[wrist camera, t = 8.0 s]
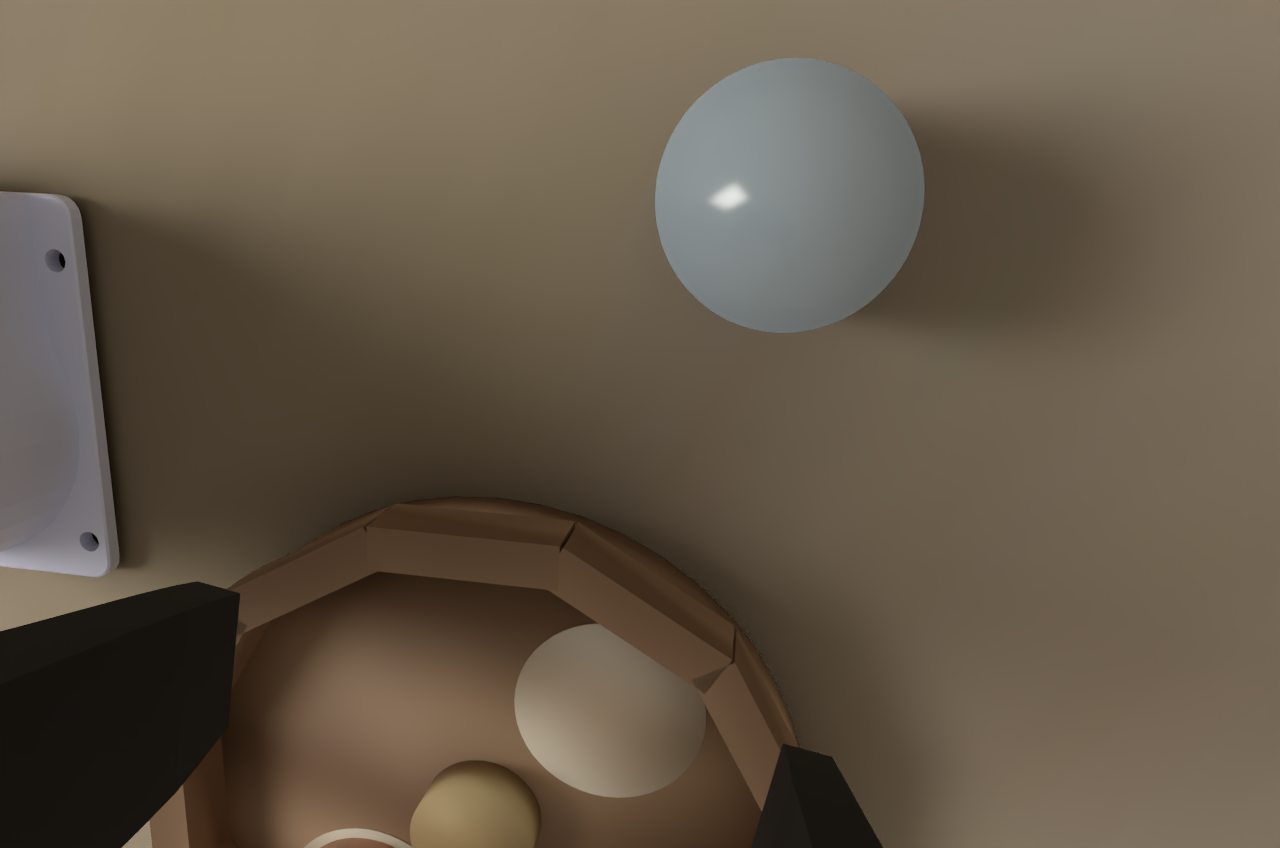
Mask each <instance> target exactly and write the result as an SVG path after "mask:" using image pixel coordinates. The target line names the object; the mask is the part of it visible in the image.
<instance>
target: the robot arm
mask: <svg viewBox="0 0 1280 848" xmlns="http://www.w3.org/2000/svg"><path fill="white" fill-rule="evenodd" d="M60 252H61V253H62V254H63V256H64V258H65V261H66V262H65V268H63V267H62V266H61V264H60V261H59V254H60ZM92 533H93V534H94V535H95V536H96V537H97V539H98V542H99V544H97V543H96V542H95V541H94V539H93V536H92ZM119 558H120V555H119V547H118V538H117V529H116V520H115V511H114V502H113V493H112V484H111V475H110V466H109V458H108V449H107V440H106V431H105V422H104V413H103V404H102V395H101V386H100V377H99V369H98V360H97V351H96V342H95V333H94V324H93V315H92V306H91V297H90V288H89V280H88V271H87V262H86V253H85V244H84V235H83V226H82V218H81V214H80V211H79V208H78V207H77V205H76V204H75V202H74V201H72V200H71V199H70V198H68V197H67V196H63V195H60V194H42V193H23V192H4V191H0V566H2V567H10V568H19V569H28V570H36V571H45V572H54V573H62V574H71V575H79V576H88V577H102V576H104V575H106V574H108V573H110V572H111V571H113V570H115V569H116V568H117V566H118V564H119ZM239 603H240V593H237V592H234V591H230V590H227V589H223V588H219V587H216V586H212V585H208V584H205V583H201V582H192V583H186V584H181V585H176V586H171V587H167V588H163V589H158V590H154V591H150V592H146V593H142V594H138V595H135V596H131V597H127V598H123V599H120V600H116V601H112V602H108V603H105V604H101V605H97V606H94V607H90V608H86V609H83V610H79V611H75V612H72V613H68V614H64V615H60V616H57V617H53V618H49V619H46V620H42V621H38V622H34V623H31V624H27V625H23V626H20V627H16V628H12V629H8V630H4V631H0V848H122V847H123V846H124V845H125V844H126V843H127V842H128V841H129V840H130V839H131V838H132V837H133V836H134V835H135V834H136V833H137V832H138V831H139V830H140V829H141V828H142V827H143V826H144V825H145V824H146V823H147V822H148V821H149V820H150V819H151V818H152V817H153V816H154V815H155V814H156V813H157V812H158V811H159V810H160V809H161V808H162V807H163V806H164V805H165V804H166V803H167V802H168V800H169V799H170V798H171V797H172V796H173V795H174V794H175V793H176V792H177V791H178V790H179V788H180V787H181V786H182V785H183V783H184V782H185V781H186V780H187V779H188V777H189V776H190V775H191V774H192V773H193V771H194V770H195V769H196V768H197V766H198V765H199V764H200V763H201V761H202V760H203V759H204V758H205V756H206V755H207V754H208V752H209V751H210V750H211V748H212V747H213V746H214V744H215V743H216V742H217V741H218V739H219V738H220V737H221V735H222V734H223V733H224V731H225V730H226V729H227V728H228V722H229V711H230V700H231V690H232V679H233V668H234V657H235V646H236V635H237V625H238V614H239ZM751 848H883V847H882V845H881V843H880V842H879V840H878V838H877V836H876V835H875V833H874V831H873V829H872V827H871V826H870V824H869V822H868V820H867V819H866V817H865V815H864V813H863V812H862V810H861V808H860V806H859V804H858V803H857V801H856V799H855V797H854V795H853V793H852V792H851V790H850V788H849V786H848V785H847V783H846V781H845V779H844V777H843V776H842V774H841V772H840V770H839V769H838V767H837V765H836V763H835V762H834V760H833V758H832V757H830V756H826V755H823V754H819V753H816V752H812V751H808V750H805V749H801V748H797V747H794V746H790V745H787V744H782V748H781V751H780V754H779V757H778V761H777V764H776V767H775V771H774V774H773V777H772V781H771V784H770V787H769V790H768V794H767V797H766V800H765V804H764V807H763V810H762V814H761V817H760V820H759V823H758V827H757V830H756V833H755V837H754V840H753V843H752V847H751Z"/></svg>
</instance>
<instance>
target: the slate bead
mask: <svg viewBox="0 0 1280 848" xmlns="http://www.w3.org/2000/svg"><path fill="white" fill-rule="evenodd" d="M924 192H925V185H924V170H923V165H922V161H921V156H920V151H919V149H918V146H917V143H916V140H915V137H914V135H913V133H912V131H911V129H910V127H909V125H908V123H907V121H906V119H905V118H904V116H903V115H902V113H901V112H900V111H899V109H898V108H897V106H896V105H895V104H894V103H893V101H892V100H891V99H890V98H889V97H888V96H887V95H886V94H885V93H884V92H883V91H882V90H881V89H879V88H878V87H877V86H876V85H874V84H873V83H872V82H871V81H869V80H868V79H866V78H865V77H863V76H861V75H859V74H858V73H856V72H854V71H852V70H850V69H848V68H845V67H843V66H840V65H838V64H835V63H831V62H827V61H822V60H818V59H809V58H781V59H775V60H770V61H764V62H761V63H758V64H755V65H751V66H748V67H745V68H743V69H741V70H739V71H737V72H735V73H733V74H731V75H729V76H727V77H726V78H724V79H723V80H721V81H720V82H718V83H717V84H715V85H713V86H712V87H711V88H710V89H709V90H708V91H706V92H705V93H704V94H703V95H702V96H701V97H699V98H698V100H697V101H696V102H695V103H694V104H693V105H692V106H691V107H690V108H689V109H688V111H687V112H686V113H685V115H684V116H683V117H682V119H681V120H680V122H679V123H678V125H677V126H676V128H675V130H674V132H673V133H672V135H671V137H670V139H669V141H668V143H667V146H666V148H665V151H664V154H663V156H662V159H661V163H660V167H659V171H658V175H657V182H656V190H655V214H656V221H657V229H658V233H659V236H660V240H661V244H662V247H663V249H664V252H665V254H666V257H667V259H668V261H669V263H670V265H671V267H672V268H673V270H674V272H675V274H676V275H677V277H678V278H679V280H680V281H681V282H682V284H683V285H684V286H685V287H686V289H687V290H688V291H689V292H690V293H691V294H692V295H693V296H694V297H695V298H696V299H697V300H698V301H699V302H700V303H702V304H703V305H704V306H705V307H707V308H708V309H709V310H711V311H712V312H714V313H715V314H717V315H719V316H721V317H722V318H724V319H726V320H728V321H730V322H733V323H735V324H738V325H740V326H743V327H746V328H750V329H754V330H757V331H764V332H772V333H795V332H803V331H810V330H813V329H817V328H821V327H825V326H828V325H830V324H833V323H835V322H838V321H840V320H842V319H844V318H846V317H848V316H850V315H852V314H853V313H855V312H857V311H858V310H860V309H861V308H863V307H864V306H865V305H867V304H868V303H869V302H871V301H872V300H873V299H874V298H875V297H876V296H877V295H878V294H880V293H881V292H882V291H883V290H884V289H885V288H886V287H887V285H888V284H889V283H890V282H891V281H892V279H893V278H894V277H895V276H896V275H897V273H898V271H899V270H900V268H901V267H902V265H903V264H904V262H905V260H906V259H907V257H908V255H909V253H910V250H911V248H912V246H913V244H914V242H915V239H916V236H917V233H918V230H919V227H920V223H921V218H922V213H923V207H924Z"/></svg>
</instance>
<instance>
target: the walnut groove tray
mask: <svg viewBox="0 0 1280 848" xmlns="http://www.w3.org/2000/svg"><path fill="white" fill-rule="evenodd" d="M227 590H230V591H234V592H237V593H240V603H239V614H238V625H237V635H236V646H235V657H234V668H233V679H232V690H231V700H230V711H229V722H228V728H227V729H226V730H225V731H224V733H223V734H222V735H221V737H220V738H219V739H218V741H217V742H216V743H215V744H214V746H213V747H212V748H211V750H210V751H209V752H208V754H207V755H206V756H205V758H204V759H203V760H202V761H201V763H200V764H199V765H198V766H197V768H196V769H195V770H194V771H193V773H192V774H191V775H190V776H189V777H188V779H187V780H186V781H185V782H184V783H183V785H182V786H181V787H180V788H179V790H178V791H177V792H176V793H175V794H174V795H173V796H172V797H171V798H170V799H169V800H168V802H167V803H166V804H165V805H164V806H163V807H162V808H161V809H160V810H159V811H158V812H157V813H156V814H155V815H154V816H153V817H152V818H151V819H150V828H151V837H152V846H153V848H320V847H322V846H324V845H326V844H328V843H330V842H333V841H336V840H340V839H345V838H366V839H371V840H376V841H379V842H383V843H385V844H388V845H390V846H393V847H395V848H751V847H752V843H753V840H754V837H755V833H756V830H757V827H758V823H759V820H760V817H761V814H762V810H763V807H764V804H765V800H766V797H767V794H768V790H769V787H770V784H771V781H772V777H773V774H774V771H775V767H776V764H777V761H778V757H779V754H780V751H781V748H782V744H787V745H790V746H794V747H797V748H799V746H798V742H797V739H796V735H795V731H794V727H793V724H792V720H791V717H790V715H789V713H788V710H787V708H786V706H785V703H784V701H783V699H782V696H781V694H780V692H779V689H778V687H777V685H776V682H775V681H774V679H773V677H772V676H771V674H770V672H769V671H768V669H767V667H766V666H765V664H764V662H763V661H762V659H761V657H760V656H759V654H758V652H757V651H756V649H755V647H754V646H753V645H752V643H751V642H750V641H749V640H748V638H747V637H746V636H745V635H744V633H743V632H742V631H741V630H740V628H739V627H738V626H737V625H736V623H735V622H734V621H733V620H732V618H731V617H730V616H729V614H728V613H727V612H726V611H725V610H724V609H723V608H722V607H720V606H719V605H718V604H717V603H716V602H715V601H714V600H713V599H712V598H711V597H710V596H709V595H708V594H707V593H706V592H705V591H704V590H703V589H702V588H701V587H700V586H699V585H698V584H697V583H696V582H694V581H693V580H692V579H690V578H689V577H688V576H686V575H685V574H684V573H682V572H681V571H680V570H678V569H677V568H676V567H674V566H673V565H672V564H671V563H669V562H668V561H667V560H665V559H664V558H663V557H661V556H659V555H658V554H656V553H654V552H653V551H651V550H649V549H647V548H646V547H644V546H642V545H641V544H639V543H637V542H635V541H634V540H632V539H630V538H628V537H627V536H625V535H623V534H621V533H619V532H616V531H614V530H612V529H609V528H607V527H605V526H602V525H600V524H598V523H595V522H593V521H591V520H588V519H586V518H584V517H581V516H577V515H574V514H570V513H567V512H563V511H560V510H557V509H553V508H550V507H546V506H543V505H539V504H532V503H526V502H520V501H514V500H507V499H501V498H482V497H448V498H437V499H427V500H417V501H412V502H408V503H404V504H397V503H396V504H395V505H393V504H392V505H390V506H388V507H386V508H383V509H379V510H375V511H373V512H370V513H368V514H365V515H363V516H360V517H358V518H355V519H353V520H350V521H348V522H345V523H343V524H341V525H339V526H337V527H335V528H334V529H332V530H330V531H328V532H327V533H325V534H323V535H321V536H320V537H318V538H316V539H315V540H313V541H311V542H309V543H308V544H307V545H305V546H304V547H302V548H301V549H299V550H297V551H294V552H292V553H290V554H288V555H286V556H284V557H282V558H280V559H278V560H276V561H274V562H272V563H269V564H267V565H265V566H263V567H261V568H259V569H257V570H255V571H253V572H251V573H250V574H248V575H247V576H245V577H244V578H242V579H241V580H239V581H238V582H237V583H235V584H234V585H232V586H231V587H229V588H228V589H227Z"/></svg>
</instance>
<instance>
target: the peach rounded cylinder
mask: <svg viewBox="0 0 1280 848" xmlns="http://www.w3.org/2000/svg"><path fill="white" fill-rule="evenodd" d="M320 848H395V847H393V846H390V845H388V844H385V843H383V842H379V841H376V840H371V839H366V838H345V839H340V840H336V841H333V842H330V843H328V844H326V845H324V846H322V847H320Z"/></svg>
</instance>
